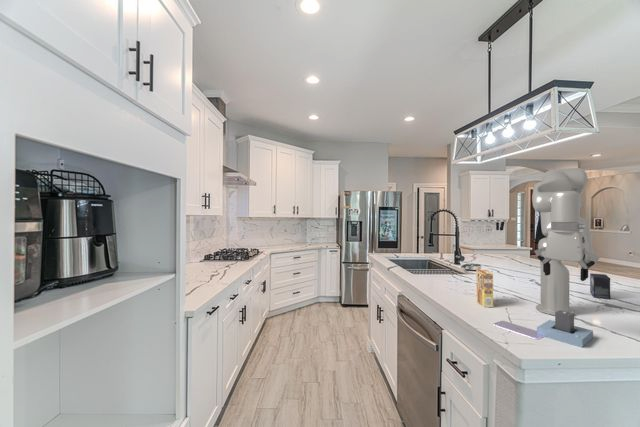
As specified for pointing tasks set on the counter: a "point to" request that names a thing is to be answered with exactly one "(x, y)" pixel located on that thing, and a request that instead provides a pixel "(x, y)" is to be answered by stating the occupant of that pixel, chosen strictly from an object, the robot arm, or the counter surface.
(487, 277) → the candy box
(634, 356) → the counter surface
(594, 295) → the small box
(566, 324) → the block
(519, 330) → the mobile phone
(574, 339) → the blue square socket base
